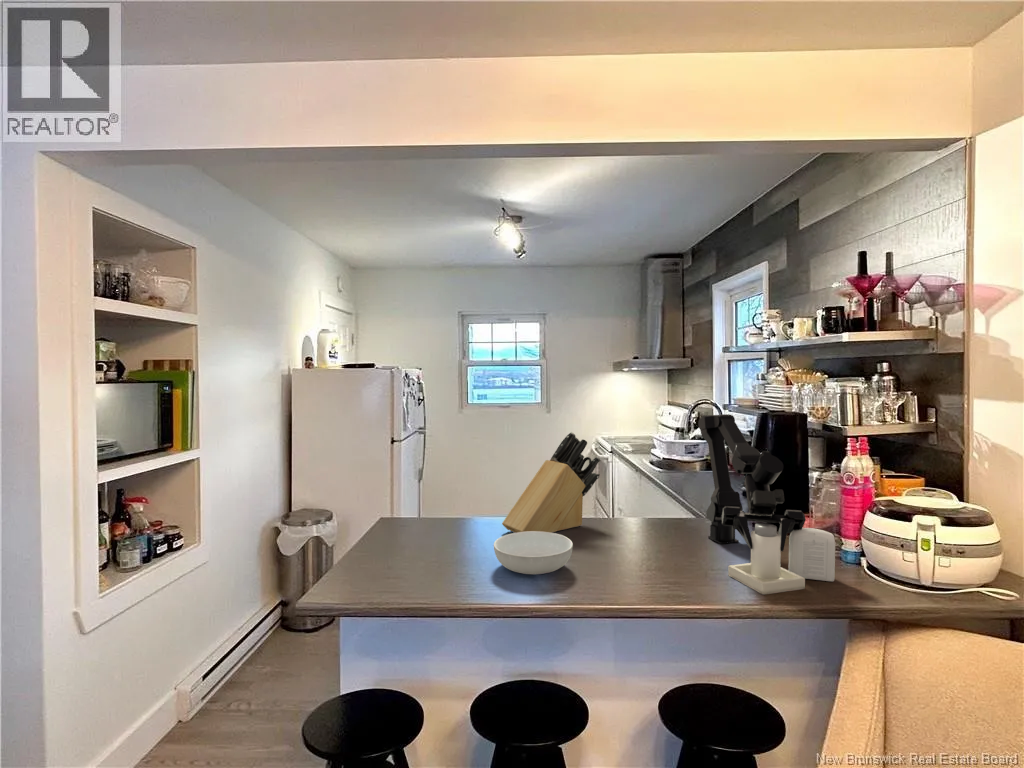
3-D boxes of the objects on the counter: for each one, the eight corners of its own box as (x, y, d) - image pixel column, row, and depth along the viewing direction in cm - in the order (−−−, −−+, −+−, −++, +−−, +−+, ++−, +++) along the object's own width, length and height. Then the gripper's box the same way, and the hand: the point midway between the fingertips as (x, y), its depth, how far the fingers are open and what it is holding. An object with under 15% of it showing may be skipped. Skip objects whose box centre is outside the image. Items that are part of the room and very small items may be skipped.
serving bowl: (531, 549, 154) (531, 526, 154) (588, 568, 139) (588, 542, 139) (477, 568, 139) (477, 542, 139) (535, 591, 124) (535, 562, 124)
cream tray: (767, 570, 137) (767, 560, 136) (804, 588, 125) (804, 578, 125) (728, 575, 133) (728, 565, 133) (763, 594, 122) (763, 584, 122)
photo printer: (832, 576, 132) (832, 528, 132) (837, 583, 128) (837, 533, 128) (786, 572, 135) (787, 524, 135) (790, 578, 131) (790, 529, 131)
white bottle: (766, 567, 133) (767, 521, 133) (786, 577, 127) (787, 528, 127) (744, 570, 131) (745, 523, 131) (764, 581, 125) (764, 531, 125)
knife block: (603, 521, 182) (603, 432, 181) (522, 541, 161) (522, 441, 160) (580, 514, 191) (580, 429, 190) (501, 532, 170) (500, 437, 169)
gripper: (723, 475, 135) (729, 530, 124) (804, 478, 130) (816, 536, 120) (719, 498, 143) (724, 552, 132) (795, 502, 138) (806, 558, 127)
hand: (766, 549), depth 128 cm, fingers closed on white bottle, 7 cm apart
